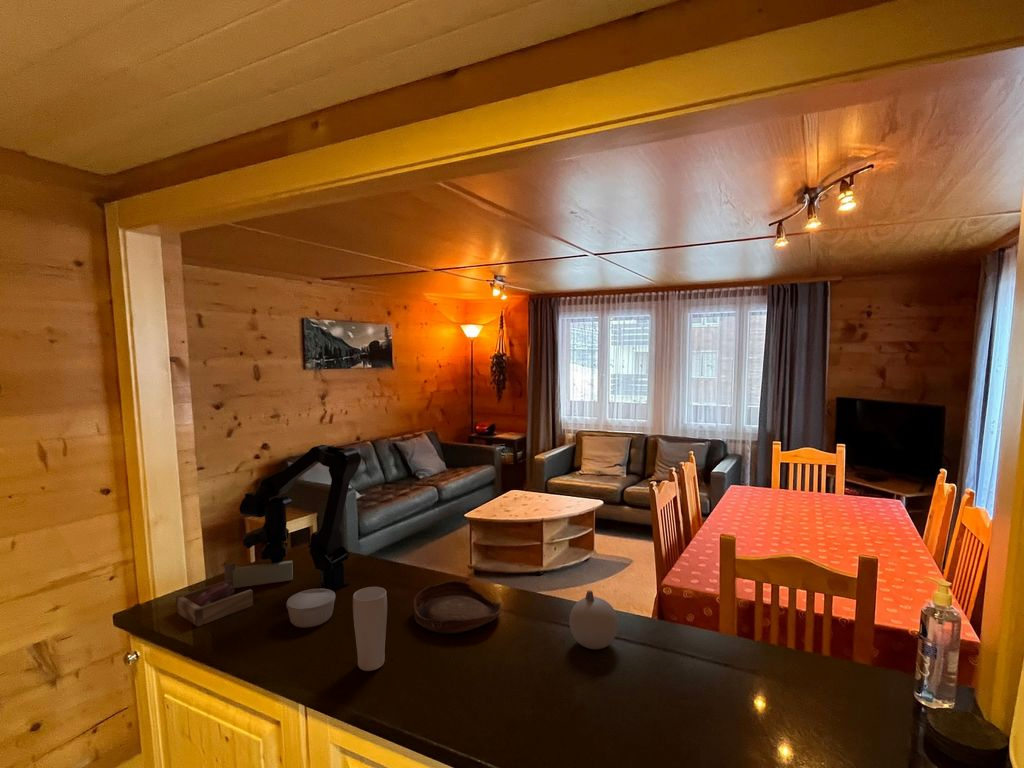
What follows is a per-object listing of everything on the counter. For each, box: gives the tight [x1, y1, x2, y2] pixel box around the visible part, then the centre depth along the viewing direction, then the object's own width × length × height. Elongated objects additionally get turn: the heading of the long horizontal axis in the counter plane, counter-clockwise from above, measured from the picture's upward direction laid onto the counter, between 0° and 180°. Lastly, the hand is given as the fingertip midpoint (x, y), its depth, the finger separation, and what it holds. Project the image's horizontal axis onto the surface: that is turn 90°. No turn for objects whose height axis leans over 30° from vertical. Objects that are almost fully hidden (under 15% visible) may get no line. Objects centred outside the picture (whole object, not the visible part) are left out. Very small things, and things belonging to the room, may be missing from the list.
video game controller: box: [193, 583, 236, 607], centre depth 131 cm, size 10×5×7 cm, turn 155°
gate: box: [223, 560, 294, 589], centre depth 145 cm, size 17×3×6 cm, turn 109°
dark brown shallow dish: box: [412, 580, 503, 635], centre depth 125 cm, size 22×20×5 cm
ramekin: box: [285, 588, 336, 629], centre depth 125 cm, size 11×11×5 cm
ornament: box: [568, 589, 619, 650], centre depth 111 cm, size 10×10×12 cm
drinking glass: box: [352, 586, 388, 672], centre depth 105 cm, size 7×7×15 cm
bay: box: [175, 579, 254, 627], centre depth 131 cm, size 12×13×4 cm
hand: (276, 571), depth 149 cm, fingers closed
